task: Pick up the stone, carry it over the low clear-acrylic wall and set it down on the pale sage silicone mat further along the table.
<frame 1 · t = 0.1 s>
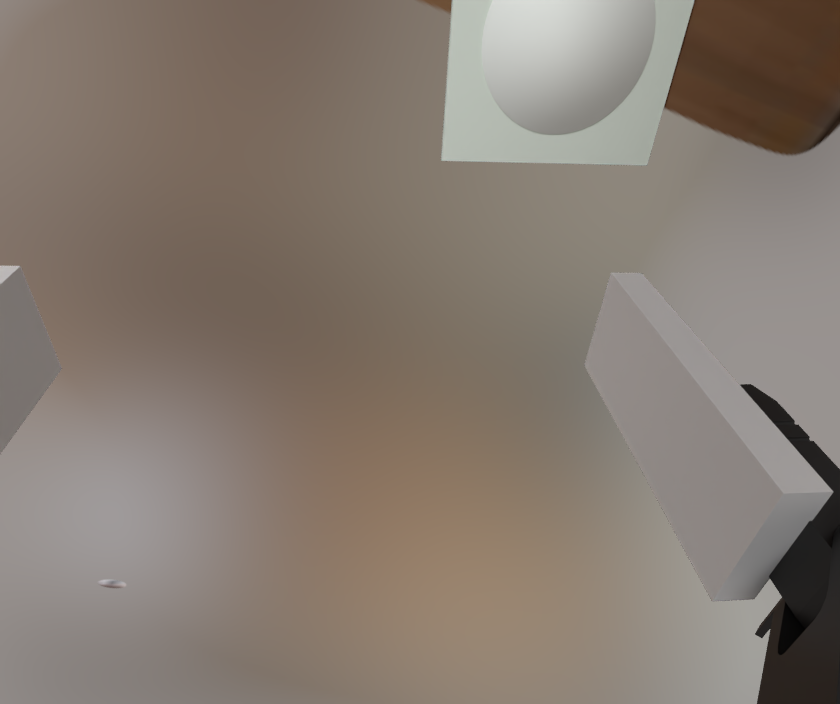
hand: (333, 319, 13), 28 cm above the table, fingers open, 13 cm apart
rest mat: (566, 42, 35), on the table
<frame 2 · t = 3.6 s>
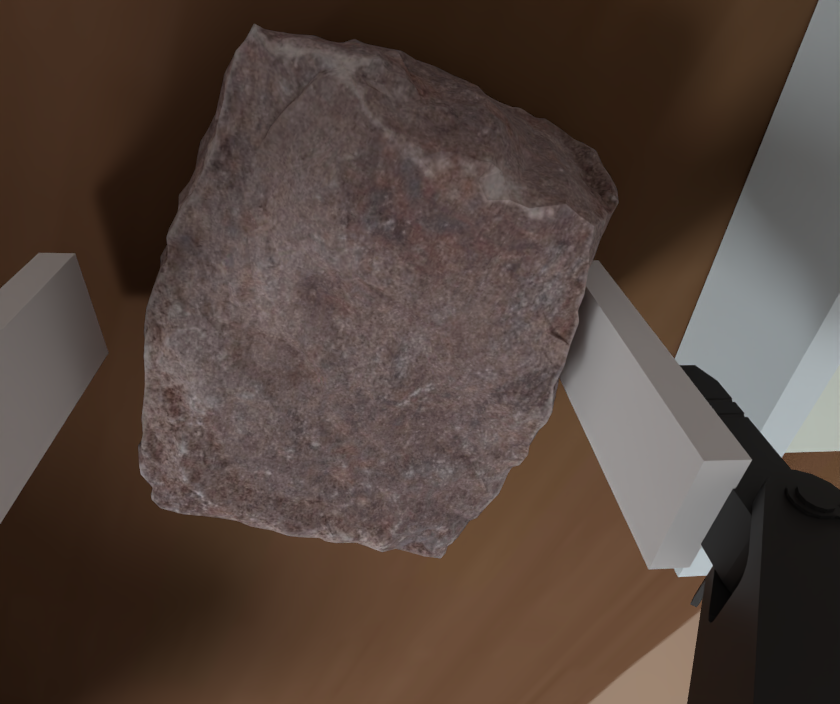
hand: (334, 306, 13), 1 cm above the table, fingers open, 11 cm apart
acrylic wall: (720, 285, 16), on the table
stone: (355, 289, 15), on the table
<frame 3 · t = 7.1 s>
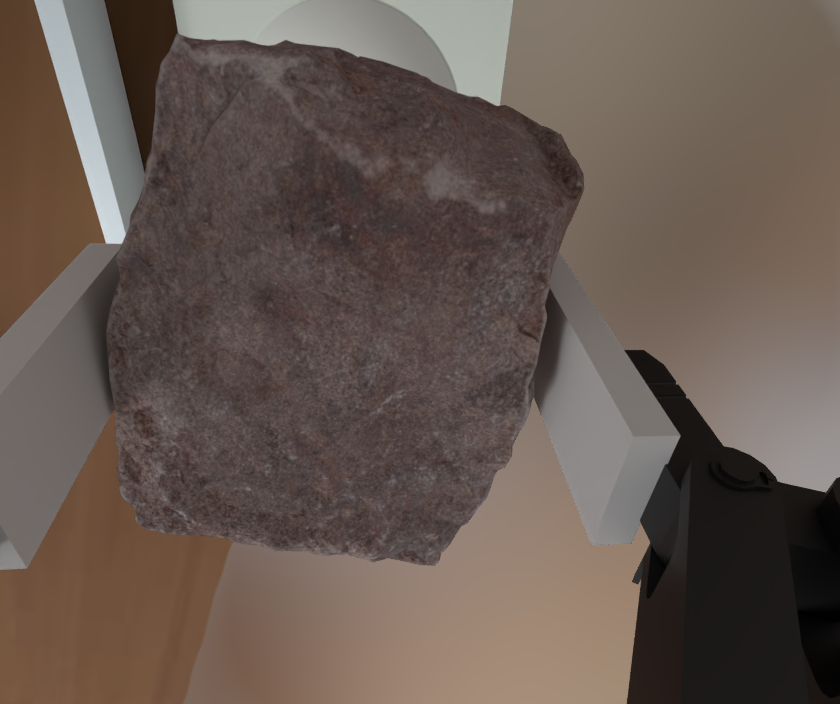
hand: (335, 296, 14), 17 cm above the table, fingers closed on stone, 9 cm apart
rest mat: (349, 124, 28), on the table
acrylic wall: (125, 137, 27), on the table
stone: (332, 295, 15), point 16 cm above the table, touching gripper
when the fingers open (3 cm above the table, at t = 10.2 s): stone drops 2 cm, resting on rest mat.
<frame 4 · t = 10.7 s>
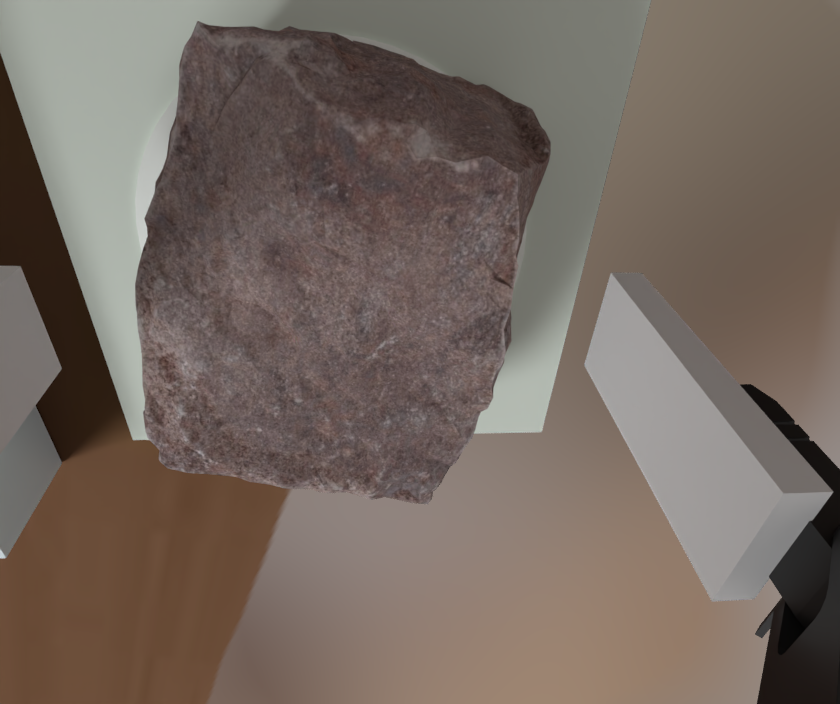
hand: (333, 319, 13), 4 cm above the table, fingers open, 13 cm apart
rest mat: (339, 243, 16), on the table
stone: (332, 262, 16), resting on rest mat
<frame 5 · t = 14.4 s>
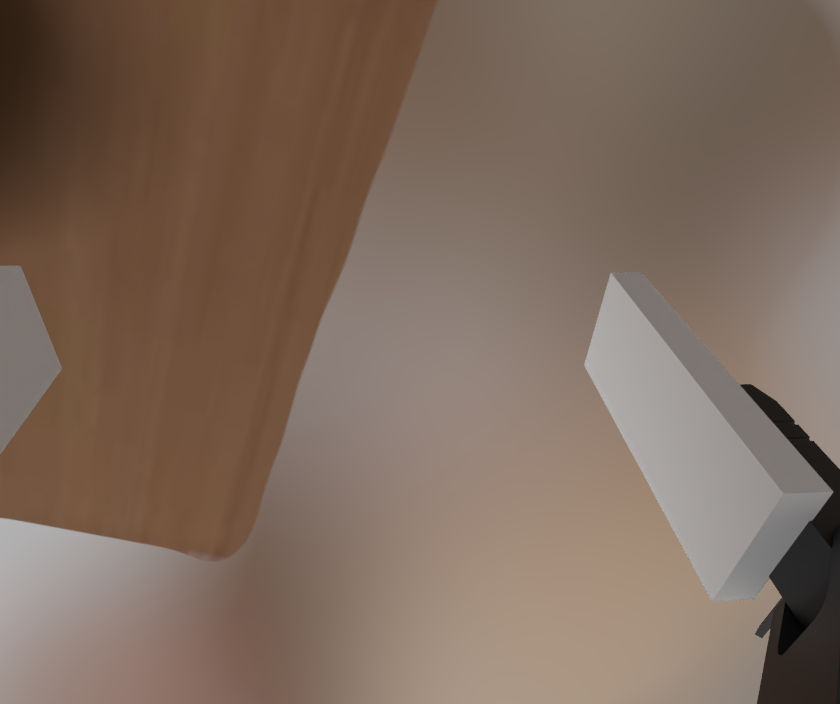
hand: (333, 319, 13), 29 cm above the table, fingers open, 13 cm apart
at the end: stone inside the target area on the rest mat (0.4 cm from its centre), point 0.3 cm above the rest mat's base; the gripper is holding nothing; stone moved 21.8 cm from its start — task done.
